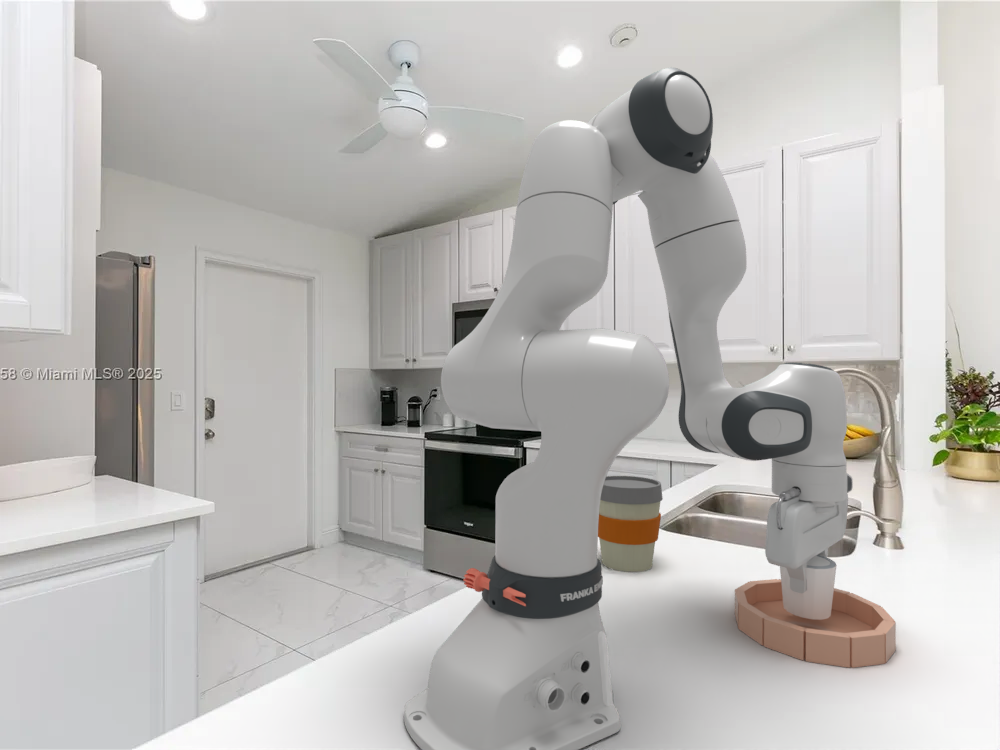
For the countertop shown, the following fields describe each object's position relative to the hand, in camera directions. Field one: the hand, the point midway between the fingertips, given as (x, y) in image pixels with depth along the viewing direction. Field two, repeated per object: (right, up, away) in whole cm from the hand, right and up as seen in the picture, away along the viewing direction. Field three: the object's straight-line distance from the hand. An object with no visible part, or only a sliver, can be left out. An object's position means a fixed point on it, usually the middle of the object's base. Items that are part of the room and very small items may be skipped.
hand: (807, 584), depth 74 cm
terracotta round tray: (0, -6, 0) cm, 6 cm away
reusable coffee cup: (-18, -6, +26) cm, 33 cm away
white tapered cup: (0, -4, 0) cm, 4 cm away
